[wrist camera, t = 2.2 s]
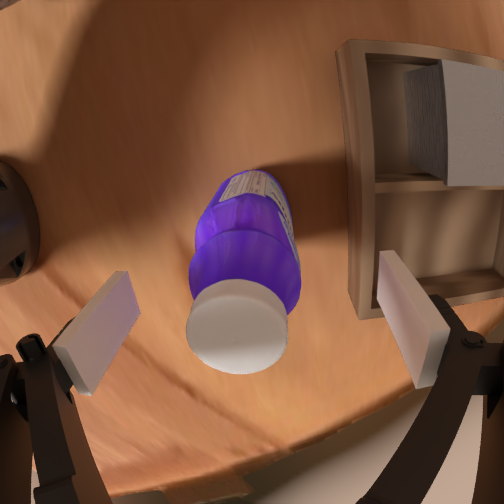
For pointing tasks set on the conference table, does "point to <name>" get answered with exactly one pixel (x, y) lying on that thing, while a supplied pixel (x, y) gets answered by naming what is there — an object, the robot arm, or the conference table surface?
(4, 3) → the decorative sphere
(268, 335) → the bottle
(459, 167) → the block
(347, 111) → the crate
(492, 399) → the robot arm
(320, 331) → the conference table surface
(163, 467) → the conference table surface
